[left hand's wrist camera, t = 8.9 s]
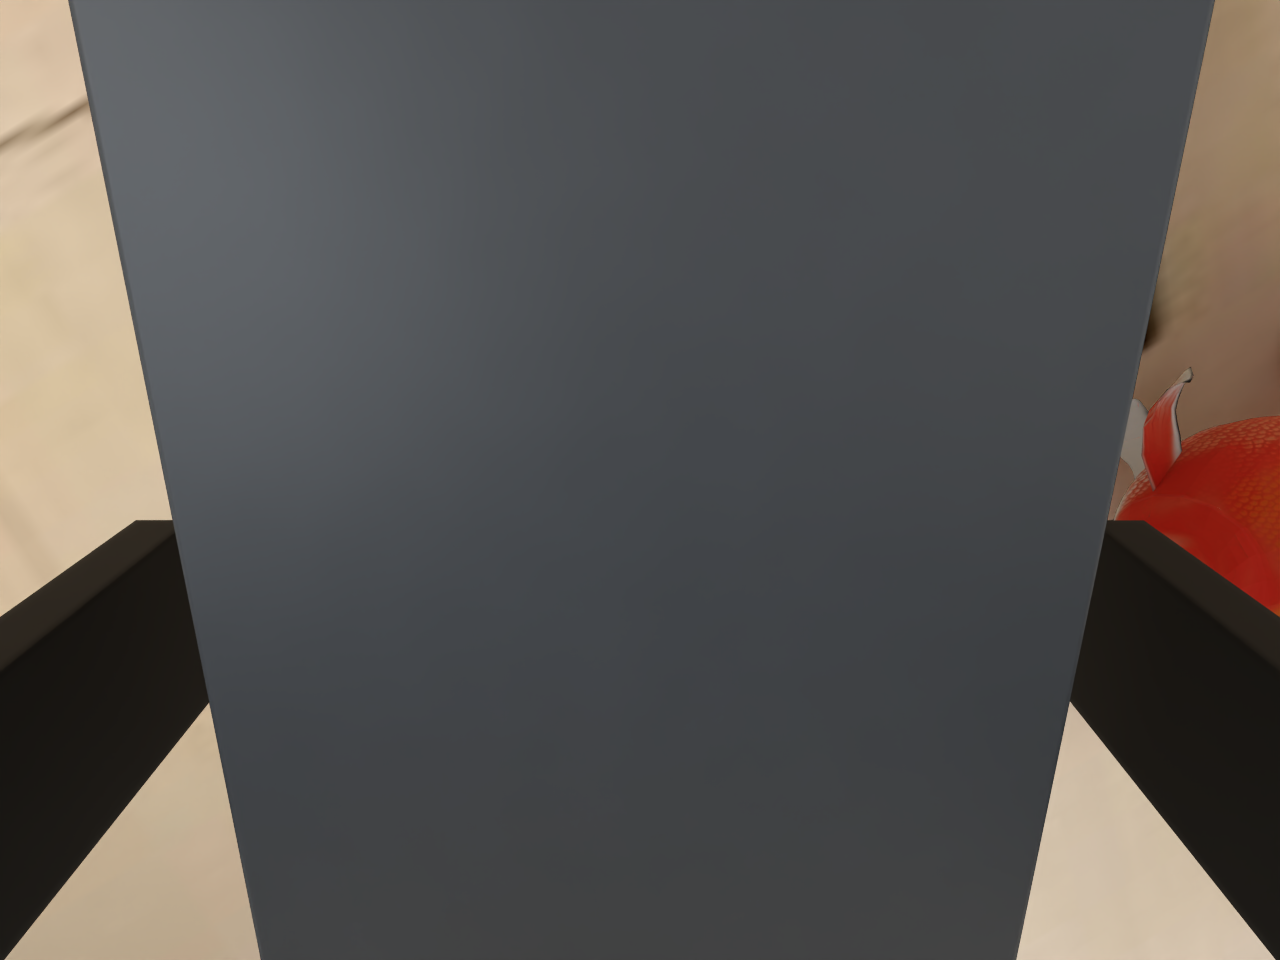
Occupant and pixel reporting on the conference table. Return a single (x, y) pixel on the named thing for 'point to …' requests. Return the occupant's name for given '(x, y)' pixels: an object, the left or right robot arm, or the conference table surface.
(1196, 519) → the fish
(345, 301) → the bar
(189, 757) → the conference table surface
